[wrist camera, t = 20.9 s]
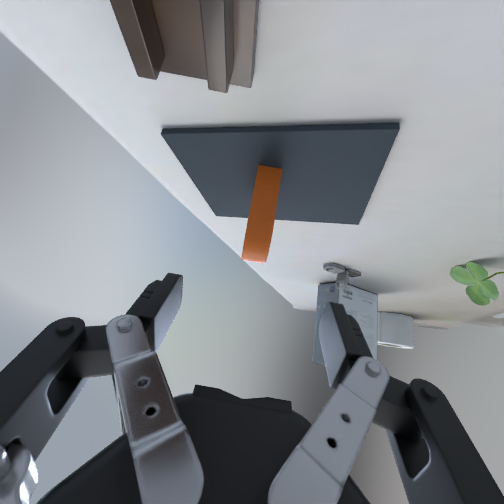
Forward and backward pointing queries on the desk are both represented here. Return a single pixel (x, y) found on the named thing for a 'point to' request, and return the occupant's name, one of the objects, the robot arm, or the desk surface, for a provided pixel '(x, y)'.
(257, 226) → the orange curved block
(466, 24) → the desk surface
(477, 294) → the green clover
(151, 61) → the holder
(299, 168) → the felt mat
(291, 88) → the desk surface
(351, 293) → the hard drive box
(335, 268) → the strap clip
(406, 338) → the white paper roll
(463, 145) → the desk surface
